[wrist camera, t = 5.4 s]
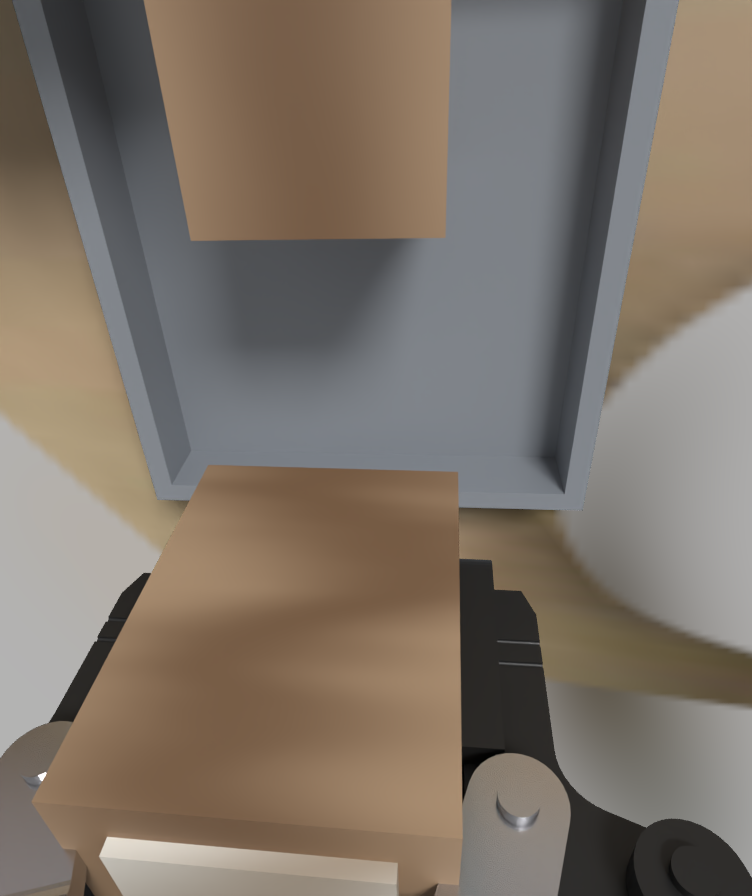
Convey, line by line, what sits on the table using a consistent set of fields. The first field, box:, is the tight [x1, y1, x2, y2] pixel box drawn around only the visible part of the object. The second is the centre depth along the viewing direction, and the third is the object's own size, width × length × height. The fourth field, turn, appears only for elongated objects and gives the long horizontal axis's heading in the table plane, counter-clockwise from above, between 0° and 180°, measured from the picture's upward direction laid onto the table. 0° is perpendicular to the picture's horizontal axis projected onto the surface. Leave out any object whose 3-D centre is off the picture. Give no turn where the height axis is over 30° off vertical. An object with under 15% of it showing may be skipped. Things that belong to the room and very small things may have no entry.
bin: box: [12, 0, 679, 510], centre depth 17 cm, size 13×15×2 cm
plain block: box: [144, 0, 451, 241], centre depth 12 cm, size 4×4×6 cm
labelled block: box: [32, 465, 463, 896], centre depth 10 cm, size 4×4×6 cm
